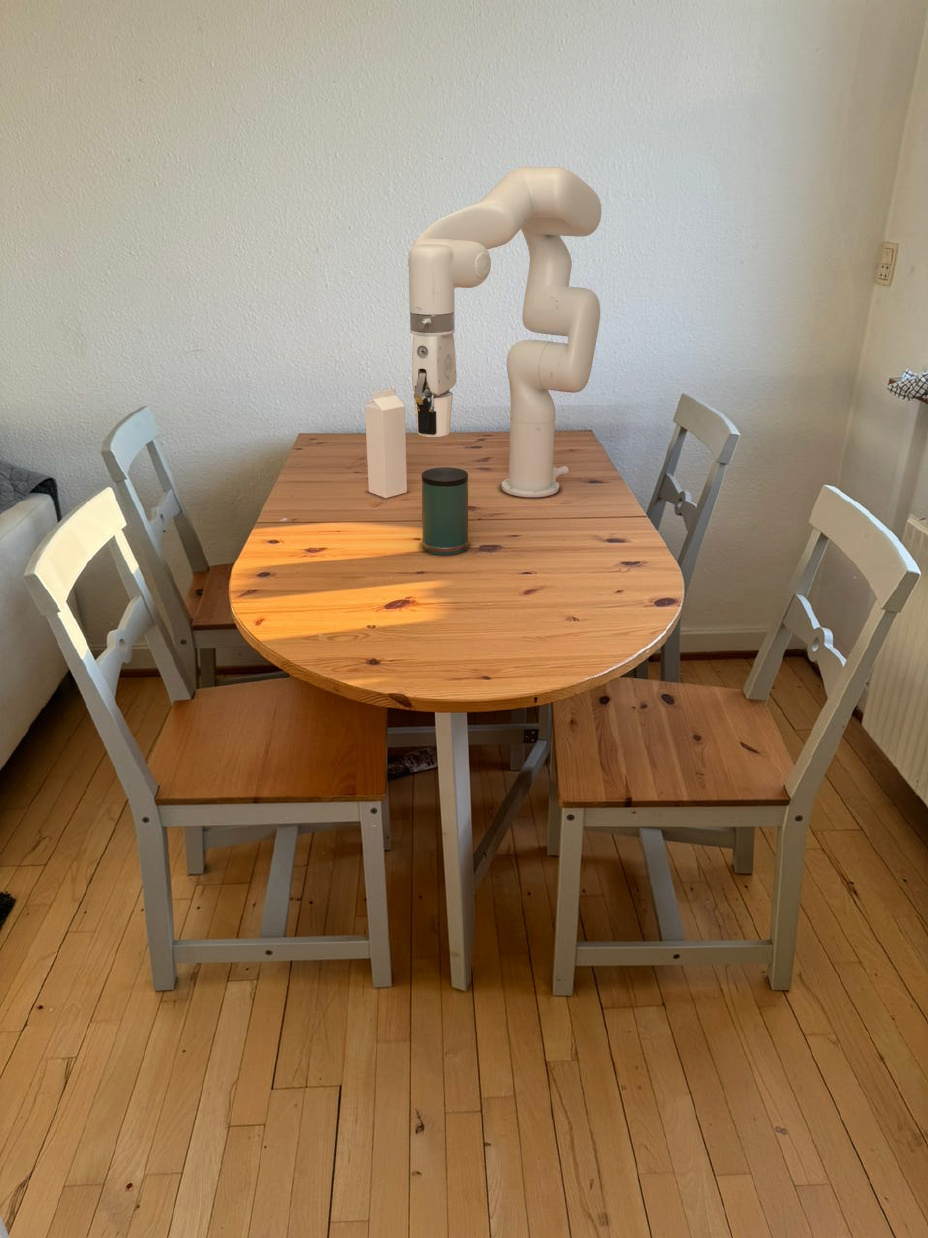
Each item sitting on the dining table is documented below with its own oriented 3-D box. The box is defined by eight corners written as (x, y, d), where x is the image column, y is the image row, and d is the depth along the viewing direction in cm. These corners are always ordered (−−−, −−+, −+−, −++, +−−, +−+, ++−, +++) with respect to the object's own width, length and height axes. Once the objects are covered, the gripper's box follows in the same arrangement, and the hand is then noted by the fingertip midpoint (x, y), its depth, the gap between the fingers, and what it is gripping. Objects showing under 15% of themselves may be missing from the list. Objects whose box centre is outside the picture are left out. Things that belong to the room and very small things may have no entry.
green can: (449, 535, 181) (449, 464, 175) (477, 548, 175) (478, 475, 169) (413, 544, 176) (412, 472, 170) (440, 558, 170) (439, 484, 164)
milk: (407, 492, 204) (405, 390, 194) (385, 498, 200) (382, 394, 191) (389, 485, 208) (387, 385, 198) (367, 491, 204) (364, 389, 195)
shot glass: (458, 429, 169) (458, 390, 166) (445, 439, 163) (444, 398, 160) (422, 426, 171) (422, 387, 168) (408, 435, 165) (407, 395, 162)
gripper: (435, 332, 150) (436, 443, 158) (469, 316, 165) (469, 419, 173) (391, 330, 153) (395, 439, 161) (429, 314, 167) (431, 415, 175)
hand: (433, 428), depth 167 cm, fingers closed on shot glass, 5 cm apart
